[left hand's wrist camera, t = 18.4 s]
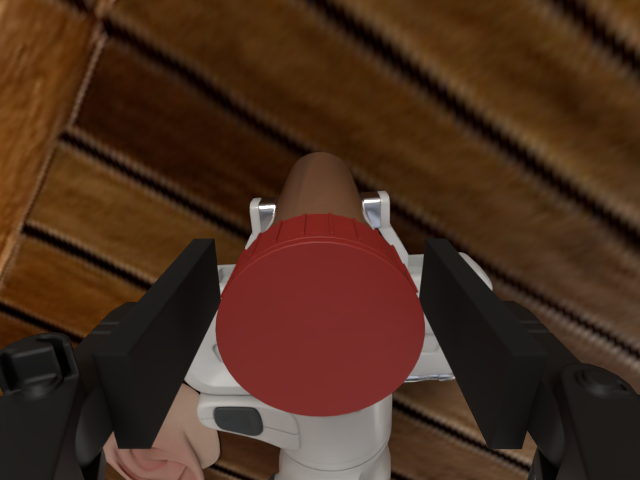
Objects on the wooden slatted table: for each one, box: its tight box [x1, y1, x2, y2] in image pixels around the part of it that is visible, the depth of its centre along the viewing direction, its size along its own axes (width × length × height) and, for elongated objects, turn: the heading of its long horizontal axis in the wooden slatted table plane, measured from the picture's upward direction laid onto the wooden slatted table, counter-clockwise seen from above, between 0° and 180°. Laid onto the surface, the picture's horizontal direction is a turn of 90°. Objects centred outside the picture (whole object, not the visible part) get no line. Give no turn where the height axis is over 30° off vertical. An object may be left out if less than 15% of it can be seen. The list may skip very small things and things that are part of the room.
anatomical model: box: [103, 383, 220, 480], centre depth 34 cm, size 13×4×12 cm
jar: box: [265, 152, 375, 231], centre depth 19 cm, size 5×5×18 cm
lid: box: [215, 213, 425, 417], centre depth 11 cm, size 6×6×2 cm
